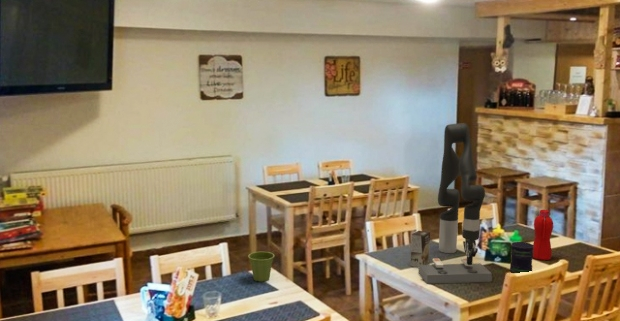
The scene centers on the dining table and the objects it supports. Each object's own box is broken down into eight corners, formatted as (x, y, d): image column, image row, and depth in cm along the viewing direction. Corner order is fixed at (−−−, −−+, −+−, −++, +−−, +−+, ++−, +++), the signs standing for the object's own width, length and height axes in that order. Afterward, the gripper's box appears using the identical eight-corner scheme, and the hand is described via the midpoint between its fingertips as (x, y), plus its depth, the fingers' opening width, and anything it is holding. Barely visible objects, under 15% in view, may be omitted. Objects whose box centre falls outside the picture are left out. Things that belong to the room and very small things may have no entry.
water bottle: (532, 260, 306) (535, 212, 303) (531, 254, 317) (534, 207, 313) (551, 262, 304) (555, 213, 300) (550, 255, 314) (553, 208, 310)
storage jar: (523, 280, 278) (525, 249, 275) (505, 274, 286) (507, 244, 283) (536, 276, 284) (538, 245, 281) (518, 270, 291) (520, 240, 289)
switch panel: (418, 273, 287) (418, 264, 286) (479, 271, 290) (480, 262, 289) (427, 283, 273) (427, 274, 272) (491, 281, 276) (492, 272, 275)
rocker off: (432, 260, 287) (432, 258, 286) (438, 260, 287) (438, 258, 286) (436, 267, 280) (436, 265, 279) (443, 267, 280) (443, 264, 280)
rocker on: (461, 260, 288) (461, 258, 288) (467, 260, 288) (467, 258, 288) (466, 266, 281) (466, 263, 281) (472, 265, 281) (472, 263, 281)
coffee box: (422, 268, 293) (423, 236, 291) (410, 266, 297) (411, 234, 294) (429, 263, 301) (430, 231, 299) (416, 261, 304) (418, 230, 302)
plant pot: (243, 279, 277) (242, 255, 276) (263, 273, 286) (262, 249, 284) (259, 285, 269) (259, 261, 267) (279, 279, 277) (279, 255, 275)
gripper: (458, 224, 285) (456, 260, 287) (468, 231, 272) (466, 269, 274) (473, 224, 285) (472, 259, 288) (484, 231, 272) (482, 268, 275)
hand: (469, 264), depth 281 cm, fingers closed
